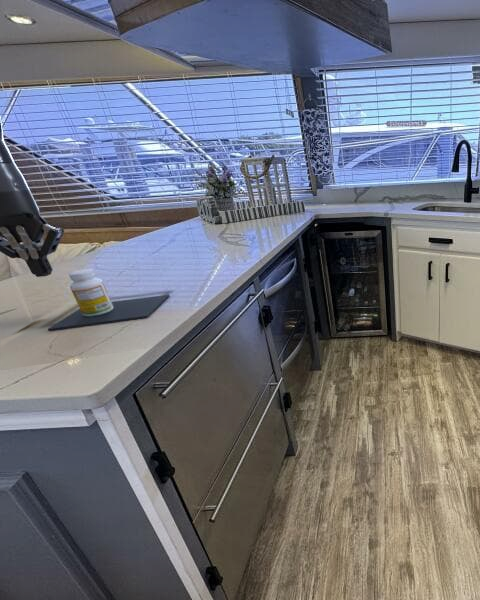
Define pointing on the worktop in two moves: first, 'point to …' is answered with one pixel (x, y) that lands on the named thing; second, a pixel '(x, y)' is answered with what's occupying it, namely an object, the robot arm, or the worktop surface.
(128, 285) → the worktop surface
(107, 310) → the supplement bottle
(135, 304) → the rubber mat
